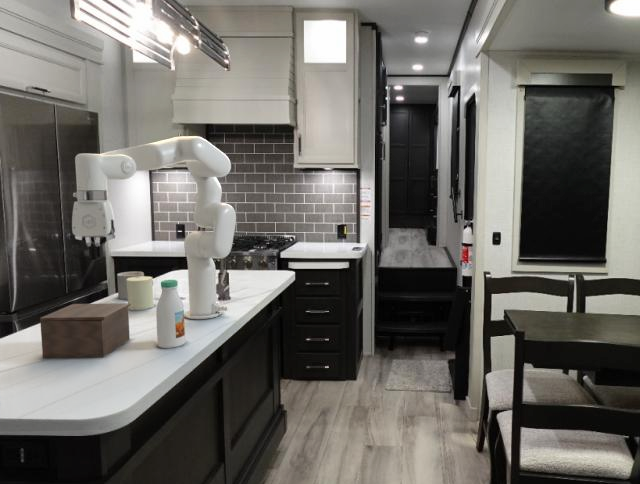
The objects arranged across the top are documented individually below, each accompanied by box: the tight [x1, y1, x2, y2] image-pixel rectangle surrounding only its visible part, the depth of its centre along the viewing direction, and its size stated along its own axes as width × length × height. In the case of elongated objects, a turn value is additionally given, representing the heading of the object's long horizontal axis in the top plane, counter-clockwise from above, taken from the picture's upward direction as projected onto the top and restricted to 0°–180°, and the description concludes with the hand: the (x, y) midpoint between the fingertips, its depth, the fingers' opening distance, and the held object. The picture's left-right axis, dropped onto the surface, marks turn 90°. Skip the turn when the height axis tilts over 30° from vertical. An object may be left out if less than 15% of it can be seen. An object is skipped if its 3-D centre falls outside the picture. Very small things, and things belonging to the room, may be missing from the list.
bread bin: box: [39, 307, 131, 359], centre depth 147 cm, size 17×16×11 cm
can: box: [127, 275, 155, 311], centre depth 194 cm, size 9×9×12 cm
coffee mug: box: [116, 271, 145, 300], centre depth 211 cm, size 13×10×10 cm
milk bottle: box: [156, 279, 186, 349], centre depth 151 cm, size 8×8×20 cm
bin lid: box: [39, 302, 131, 322], centre depth 146 cm, size 17×16×1 cm
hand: (96, 259), depth 145 cm, fingers closed
